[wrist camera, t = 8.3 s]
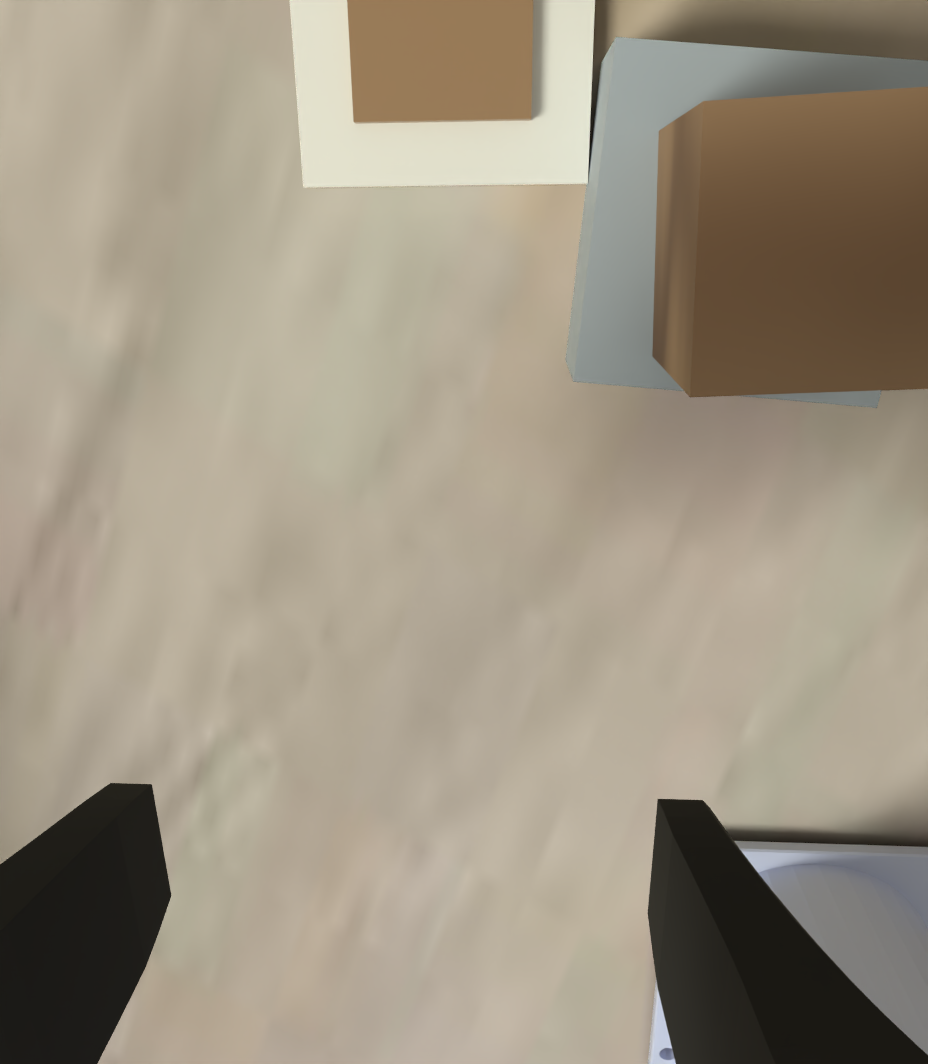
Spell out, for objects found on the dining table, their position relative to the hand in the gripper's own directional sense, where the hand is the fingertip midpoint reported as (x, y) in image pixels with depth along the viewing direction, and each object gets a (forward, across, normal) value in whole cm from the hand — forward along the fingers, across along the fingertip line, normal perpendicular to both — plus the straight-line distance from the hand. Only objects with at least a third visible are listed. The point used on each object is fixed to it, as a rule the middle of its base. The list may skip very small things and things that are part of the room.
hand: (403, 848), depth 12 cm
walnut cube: (+7, -6, -8) cm, 12 cm away
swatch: (+10, 0, -12) cm, 16 cm away
